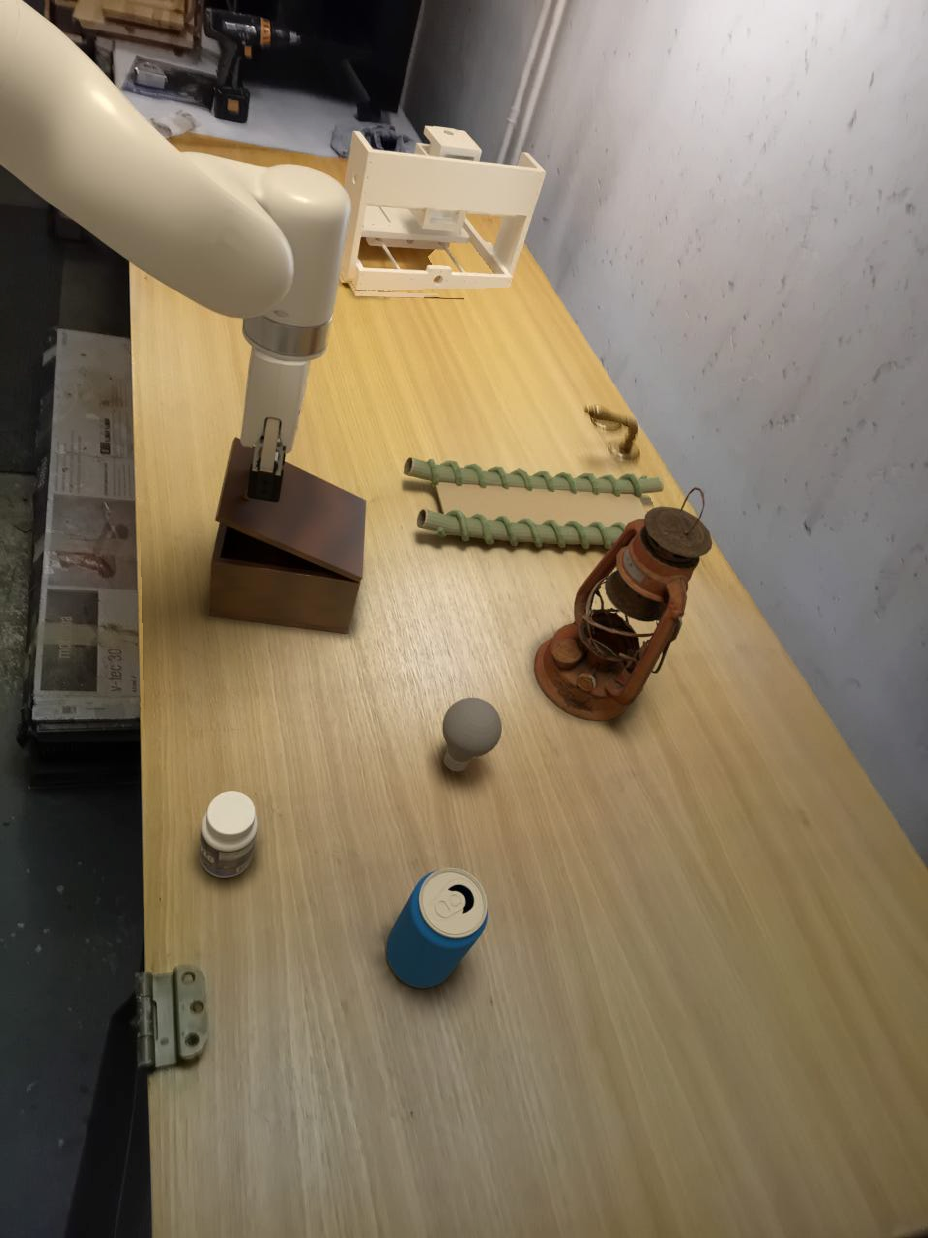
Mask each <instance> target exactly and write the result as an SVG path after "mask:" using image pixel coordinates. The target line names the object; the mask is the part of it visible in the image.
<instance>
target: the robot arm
mask: <svg viewBox="0 0 928 1238" xmlns="http://www.w3.org/2000/svg"><path fill="white" fill-rule="evenodd" d="M0 166H2V167H3V168H4V169H6V171H8V172H10V173H11V174H12V175H13V176H14V177H16V178H17V179H18V181H19V180H20V182H22V184H23V185H25V186H27V188H29V190H31V191H33V192H34V193H35V194H36V195H38V196H39V197H40V198H41V199H42V200H44V201H45V202H47V203H48V204H50V205H51V206H53V207H54V208H56V209H57V210H59V211H60V212H61V213H62V214H64V215H66V216H67V217H68V218H70V219H71V220H73V221H74V222H75V223H77V224H78V225H79V226H80V227H82V228H84V229H85V230H86V231H88V233H90V234H92V235H93V236H94V237H96V238H97V239H98V240H100V241H101V242H102V243H103V244H105V245H106V246H107V247H109V248H110V249H112V250H113V251H114V252H116V253H117V254H118V255H119V256H121V257H122V258H123V259H125V260H126V261H128V262H129V263H131V264H132V265H134V266H135V267H136V268H138V269H140V270H141V271H143V272H144V273H146V274H147V275H149V276H150V277H152V278H154V279H155V280H157V281H158V282H159V283H161V284H163V285H165V286H167V287H168V288H170V289H172V290H174V291H175V292H177V293H179V294H180V295H183V296H184V297H186V298H187V299H189V300H191V301H193V302H195V303H196V304H197V305H200V306H202V307H203V308H205V309H207V310H209V311H210V312H213V313H215V314H218V315H220V316H225V317H227V318H232V319H239V320H240V319H241V320H242V324H241V325H242V326H241V332H242V335H243V338H244V339H245V341H246V342H247V343H248V344H249V345H250V346H251V348H250V349H251V350H250V355H249V362H248V368H247V369H248V370H247V377H246V384H245V385H246V388H245V395H244V396H245V397H244V403H243V404H244V406H243V415H242V423H241V430H240V438H239V439H240V442H241V444H242V445H243V446H244V447H246V446H247V447H251V448H252V447H253V446H255V451H254V460H253V464H251V466H250V474H249V483H248V491H247V496H248V497H249V498H252V499H258V500H264V501H270V502H279V500H280V493H281V487H282V480H283V474H284V470H283V469H282V466H283V465H284V463H285V461H286V455H287V454H289V453H291V452H292V450H293V446H294V442H295V439H296V435H297V431H298V428H299V424H300V420H301V419H300V418H301V415H302V411H303V406H304V401H305V397H306V393H307V386H308V380H309V375H310V369H311V364H312V361H313V360H316V359H318V358H320V357H321V356H323V355H324V354H325V353H326V351H327V350H328V346H329V340H330V334H331V329H332V323H333V318H334V317H333V316H334V311H335V307H336V301H337V296H338V289H339V284H340V273H341V267H342V262H343V256H344V251H345V245H346V239H347V234H348V228H349V223H350V216H351V202H350V198H349V195H348V193H347V191H346V190H345V188H344V185H342V184H341V182H339V181H338V180H337V179H336V178H335V177H333V176H331V175H329V174H328V173H325V172H323V171H321V170H318V169H316V168H312V167H309V166H306V165H300V164H293V163H283V164H275V165H272V166H263V165H256V164H253V163H248V162H244V161H239V160H235V159H230V158H227V157H223V156H218V155H214V154H210V153H204V152H198V151H180V150H179V149H178V148H176V146H174V145H173V144H172V143H171V142H170V141H169V140H168V139H167V138H166V137H165V136H164V135H162V134H161V132H159V130H157V128H155V127H154V125H152V124H151V123H150V122H149V120H148V119H146V118H145V117H144V116H143V115H142V114H141V113H140V112H139V110H138V109H137V108H136V107H135V106H134V105H133V104H132V103H131V102H130V101H129V99H128V98H127V97H126V96H125V95H124V94H123V92H121V91H120V90H119V88H118V87H117V86H116V85H115V84H114V83H113V81H112V80H111V79H110V77H108V75H106V73H105V72H104V71H103V70H102V69H101V68H100V67H99V65H97V64H96V63H95V62H94V61H93V60H92V59H91V58H90V57H89V56H88V55H87V54H86V53H85V52H84V51H83V50H82V49H81V48H80V47H79V46H78V45H77V44H76V43H75V42H74V41H73V40H72V39H70V38H69V37H68V36H67V35H66V34H65V33H64V32H63V31H62V30H61V29H60V28H58V27H57V26H56V25H55V24H54V23H52V22H51V21H50V20H48V19H47V18H46V17H44V16H43V15H42V14H40V13H39V12H38V11H37V10H36V9H34V7H32V6H30V5H29V3H27V2H26V1H24V0H0ZM278 439H281V441H282V443H281V442H277V440H278ZM261 450H262V456H261V458H260V452H261ZM276 452H279V453H278V460H277V461H275V453H276Z"/></svg>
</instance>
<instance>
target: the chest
mask: <svg viewBox="0 0 928 1238" xmlns="http://www.w3.org/2000/svg"><path fill="white" fill-rule="evenodd" d="M218 523H219V522H218ZM210 560H211V561H210V575H209V591H208V593H209V595H208V597H209V598H208V612H207V613H208V616H209V617H216V618H217V617H218V618H225V619H232V620H233V619H234V620H240V621H246V622H247V621H248V622H254V623H264V624H270V625H277V626H278V625H279V626H284V627H285V626H286V627H292V628H300V629H309V630H315V631H322V632H323V631H324V632H330V633H337V634H338V633H339V634H346V635H347V634H348V633H349V629H350V626H351V625H350V624H351V622H352V618H353V614H354V610H355V606H356V602H357V597H358V593H359V590H360V586H361V581H360V582H357V581H354V580H352V579H350V578H347V577H345V576H343V575H340V574H338V573H336V572H333V571H331V570H329V569H326V568H324V567H322V566H319V565H317V564H315V563H312V562H310V561H308V560H306V559H303V558H301V557H299V556H296V555H294V554H292V553H289V552H287V551H285V550H282V549H280V548H278V547H275V546H273V545H271V544H268V543H266V542H264V541H261V540H259V539H257V538H254V537H252V536H250V535H247V534H245V533H243V532H240V531H238V530H236V529H233V528H231V527H229V526H226V525H224V524H222V523H219V524H218V528H217V533H216V537H215V543H214V547H213V551H212V555H211V559H210Z"/></svg>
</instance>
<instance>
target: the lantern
mask: <svg viewBox="0 0 928 1238" xmlns="http://www.w3.org/2000/svg"><path fill="white" fill-rule="evenodd" d="M695 490H696V491H698V492H699V493H700V496H701V500H702V508H701V511H700V514H699V516H698V517H697V516H695V515H693V514H691V513H690V512H688V511H686V510H685V509H684V507H685V505H686V503H687V501H688V499H689V498H690V495H691V494H692V493H693V492H694V491H695ZM705 505H706V504H705V493H704V491H703V490H702V488H700V487H696V486H695V487H693V488H692V489H691V490H690V491H689V492H688V494H687V495H686V497H685V498H684V501H683V503H682V505H681V507H680V508H678V507H672V506H662V505H661V506H655V507H652V508H651V509H650V510H648V511H646V515H645V519H637V520H634V521H632V522H629V523H628V524H627V526H626V528H625V530H624V531H623V533H622V534H621V535H620V536H619V538H618V539H617V540H616V542H615V543H614V544H612V547H611V548H610V549H608V550H607V551H606V553H605V555H604V556H603V557H602V558H601V559H600V561H599V562H598V564H597V565H596V566H595V567H594V568H593V569H592V571H591V572H590V573H589V575H588V576H587V577H586V578H585V580H584V581H583V582H582V584H581V585H580V587H579V588H578V590H577V592H576V594H575V600H574V603H573V604H574V605H573V615H574V621H573V622H571V623H567V624H564V625H562V626H561V627H560V628H558V629H557V630H556V631H555V632H554V634H553V636H552V637H550V638H549V639H547V640H545V642H543V643H541V645H540V646H539V647H538V649H537V650H536V652H535V655H534V659H533V672H534V676H535V679H536V681H537V685H538V686H539V687H540V689H541V691H542V692H543V694H545V696H546V697H547V698H548V699H549V700H550V701H551V702H552V703H553V704H555V706H557V707H558V708H559V709H561V710H562V711H564V712H566V713H568V714H570V715H571V716H574V717H576V718H579V719H583V720H587V721H596V722H597V721H608V720H613V719H615V718H617V717H619V716H621V715H622V714H623V713H625V712H626V710H627V709H628V708H629V707H630V705H632V704H633V703H634V701H635V700H636V699H637V698H638V696H639V695H640V694H641V692H643V691H644V686H645V685H646V683H647V680H648V679H649V678H650V676H651V674H654V675H655V674H656V675H657V674H658V673H659V672H660V671H661V669H662V668H663V665H664V662H665V659H666V657H667V653H668V651H669V648H670V647H671V643H673V642H674V641H676V640H677V638H678V636H679V633H680V631H681V628H682V626H683V617H684V616H685V611H686V606H687V601H688V594H687V592H688V591H689V582H690V581H691V579H692V576H693V574H694V571H695V570H696V568H697V567H698V565H699V564H700V557H702V556H704V555H705V556H706V555H707V554H708V553H709V552H710V551H711V550H712V548H713V540H712V535H711V532H710V530H709V529H708V528H707V526H705V524H704V523H703V522H702V521H701V518H702V516H703V512H704V509H705ZM615 569H616V570H615ZM602 585H604V587H602ZM603 589H604V590H605V595H606V596H607V599H608V601H609V602H610V603H611V605H612V606H613V607H614V608H613V607H610V608H607V609H606V608H605V601H604V599H603V596H602V594H601V592H600V591H601V590H603ZM595 595H596V596H598V597H599V600H600V609H599V608H598V609H595V608H593V603H594V604H596V603H597V600H598V599H596V601H595V602H594V599H595ZM618 613H622V614H623V615H624V618H623V617H622V616H620V615H619V614H618ZM629 618H630V619H633V620H636V621H638V622H647V623H649V622H650V623H651V622H655V621H656V622H655V624H656V627H655V629H654V631H653V632H651V633H649V632H648V633H637V632H636V630H635V628H633V626H632V625H631V624H630V620H629ZM649 637H650V638H649ZM639 638H649V639H646V641H645V640H643V641H642V645H640V639H639ZM597 643H599V644H601V645H603V646H605V647H606V648H607V649H608V650H609V651H611V652H612V653H613V654H612V653H610V652H608V651H606V650H604V649H603V648H602V647H600V646H599V645H598V644H597ZM659 659H660V660H659ZM658 661H659V663H658ZM657 663H658V665H657ZM656 665H657V667H656ZM655 667H656V669H655ZM654 669H655V670H654Z"/></svg>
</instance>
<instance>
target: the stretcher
mask: <svg viewBox="0 0 928 1238" xmlns="http://www.w3.org/2000/svg"><path fill="white" fill-rule="evenodd" d="M403 473H404V475H405V476H409V477H413V478H417V479H421V480H424V481H428V482H431V486H432V487H434V488H435V491H436V494H437V498H438V502H439V505H440V508H441V512H442V513H441V512H437V511H433V510H430V509H426V508H423V509H420V511H419V512H418V514H417V517H416V526H417V528H419V529H422V530H426V531H430V532H431V531H432V532H435V533H437V535H438V536H439V537H440V538H445V537H446V536H447V535H449V536H460V537H461V540H462V541H463V542H467V541H469V540H470V538H479V539H480V538H481V539H484V541H485V543H486V544H487V545H489V546H490V545H493V544H494V543H495V540H499V541H508V542H509V543H510V545H511V546H513V547H517V546H518V545H519V542H521V543H534V545H535V547H536V548H539V549H540V548H542V547H543V544H551V545H558V547H559V548H560V549H563V548H566V545H581V547H582V549H584V550H588V549H590V545H592V546H593V545H596V546H601V545H603V546H604V548H605V549H607V550H609V549H610V548H611V547H612V546H613V544H614V543H615V542H616V540H617V539H618V538H619V536H620V535H621V534H622V533H623V531H624V530H625V528H626V526H627V524H628V523H629V522H632V521H634V520H637V519H645V515H646V513H647V511H646V509H645V507H644V505H643V503H642V501H641V499H640V498H641V497H642V495H643V494H644V495H645V494H653V493H661V492H662V493H663V491H664V484H665V483H664V480H663V478H662V477H661V476H656V477H655V476H654V477H648V475H646V474H642V475H641V476H639V478H638V476H637V475H636V474H635V473H629V472H628V473H625V474H623V475H621V476H619V477H618V478H616V477H615V476H614V474H605V475H601V476H599V477H598V478H596V475H595V474H594V473H593V472H584V473H581V474H580V475H578V476H577V477H573V476H572V474H570V473H568V472H566V471H561V472H559V473H556V474H555V475H553V476H552V475H551V474H550V472H549V470H548V471H547V470H539V471H537V472H535V473H533V474H532V475H529V474H528V472H527V471H525V470H524V469H522V468H520V467H519V468H516V469H515V470H513V471H511V472H508V473H507V472H506V470H505V469H504V467H502V466H493V467H491V468H489V469H488V470H483V469H482V467H481V466H480V465H478V464H477V463H470V464H466V465H465V466H464V467H460V466H459V463H458V461H455V460H448V459H447V460H446V461H444V462H442V463H440V464H437V463H436V462H435V459H434V458H429V459H428V460H427V461H425V460H423V459H418V458H415V457H412V456H408V458H407V459H406V461H405V463H404V466H403Z"/></svg>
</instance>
